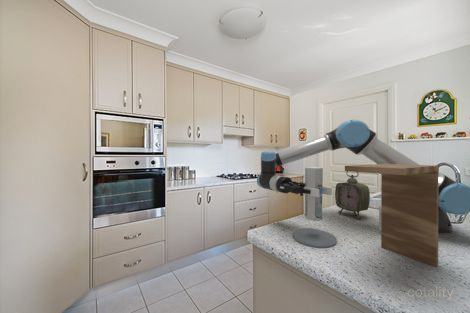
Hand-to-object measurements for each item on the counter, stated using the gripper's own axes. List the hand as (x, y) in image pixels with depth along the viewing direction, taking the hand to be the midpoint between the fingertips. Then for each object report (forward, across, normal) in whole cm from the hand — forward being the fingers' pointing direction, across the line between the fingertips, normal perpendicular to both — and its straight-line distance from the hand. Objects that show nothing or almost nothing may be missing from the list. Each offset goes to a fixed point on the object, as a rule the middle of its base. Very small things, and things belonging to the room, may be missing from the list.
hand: (325, 192), depth 72 cm
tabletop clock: (-13, -42, -19) cm, 48 cm away
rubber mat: (-5, 0, -19) cm, 20 cm away
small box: (+9, -32, -19) cm, 38 cm away
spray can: (-5, 0, -11) cm, 12 cm away
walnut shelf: (+19, -4, -19) cm, 27 cm away
